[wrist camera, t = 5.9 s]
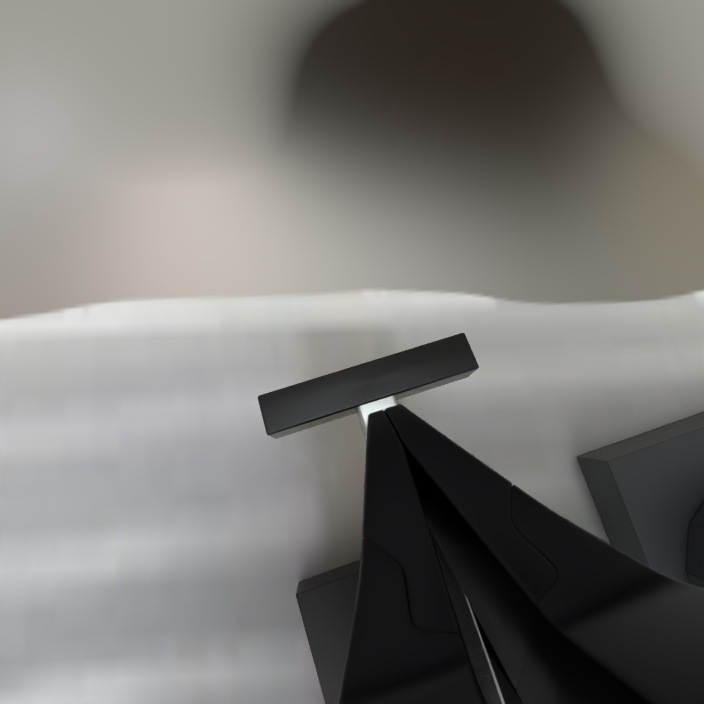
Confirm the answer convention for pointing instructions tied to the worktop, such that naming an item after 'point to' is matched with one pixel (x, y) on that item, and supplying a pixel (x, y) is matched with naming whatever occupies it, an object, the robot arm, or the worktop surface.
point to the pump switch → (654, 497)
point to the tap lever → (364, 398)
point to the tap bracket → (336, 622)
